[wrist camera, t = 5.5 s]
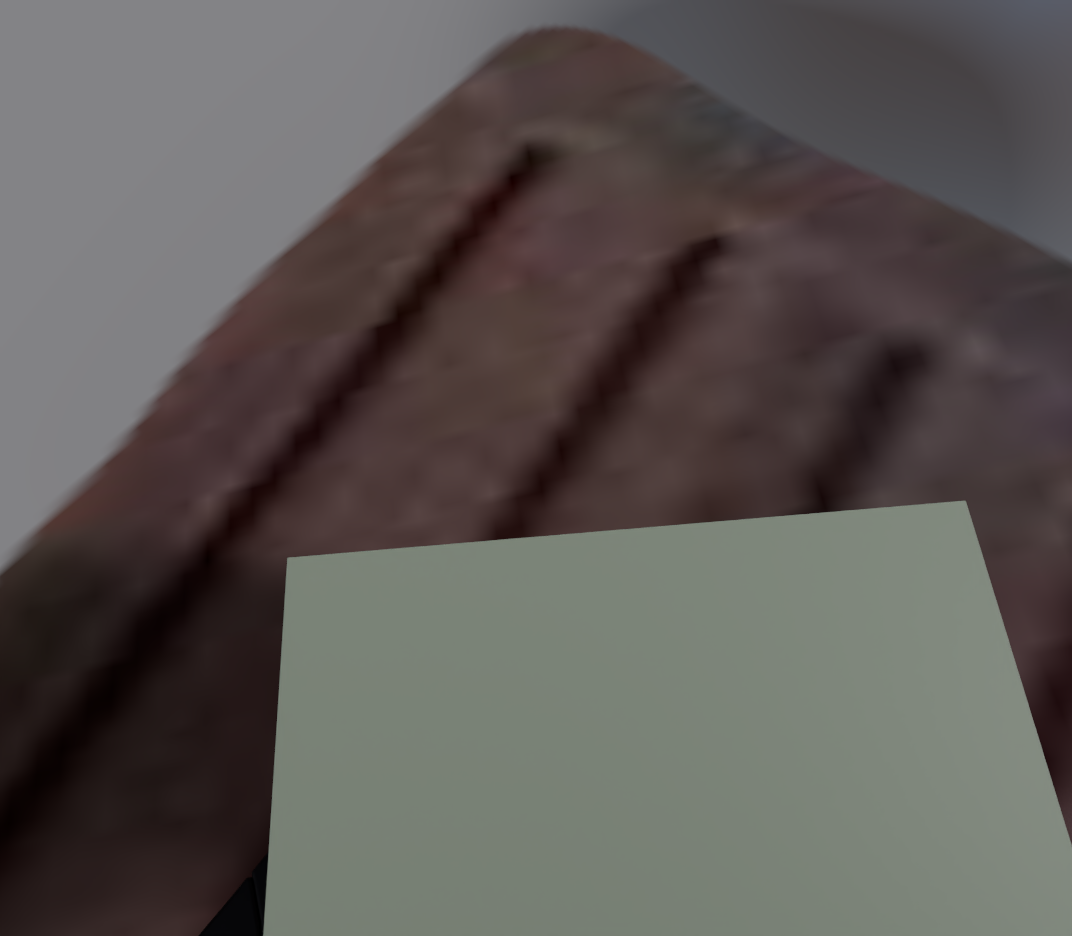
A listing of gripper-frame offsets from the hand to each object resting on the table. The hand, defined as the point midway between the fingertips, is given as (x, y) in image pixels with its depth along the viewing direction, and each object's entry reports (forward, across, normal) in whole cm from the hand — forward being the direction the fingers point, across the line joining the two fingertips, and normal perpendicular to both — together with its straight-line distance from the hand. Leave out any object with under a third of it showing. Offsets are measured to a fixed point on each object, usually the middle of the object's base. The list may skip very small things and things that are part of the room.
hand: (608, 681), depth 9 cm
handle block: (+4, 0, +6) cm, 7 cm away
